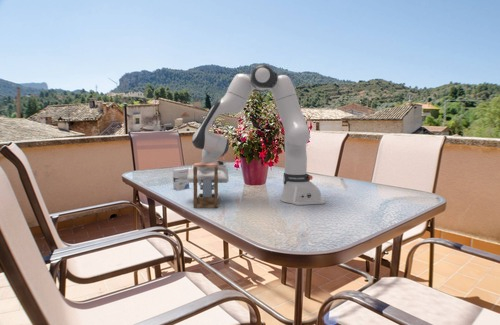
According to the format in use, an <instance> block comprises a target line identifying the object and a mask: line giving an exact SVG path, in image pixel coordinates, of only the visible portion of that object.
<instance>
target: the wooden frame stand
mask: <svg viewBox="0 0 500 325" xmlns="http://www.w3.org/2000/svg"><path fill="white" fill-rule="evenodd" d="M192 166H193V186H192V187H193V208H194V209H218V208H219V204H220V200H221V198H219V183H218V166H219V162H201V161H197V162H195V163H193V165H192ZM197 167H214V183H213V184H214V190H213V191H214V193H212V197H203V193H199V194H198V183H197Z"/></svg>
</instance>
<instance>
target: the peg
mask: <svg viewBox="0 0 500 325" xmlns="http://www.w3.org/2000/svg"><path fill="white" fill-rule="evenodd" d="M202 185H203V190H202V194H203V197H212V194H213V190H211V185H213V183H212V179H203V183H202Z"/></svg>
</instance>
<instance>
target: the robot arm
mask: <svg viewBox="0 0 500 325" xmlns="http://www.w3.org/2000/svg"><path fill="white" fill-rule="evenodd" d="M268 90H269V91H270V92H271V94H272V95H273V99H274V103H275V107H276V110H277V112H278V116H279V119H280V121H281V124H282V126H283V130H284V172H283V175H282V176H283V178H282V179H283V180H282V182H283V186H282V188H283V189H282V193H281V195H280V196H281V197H280V201H281V202H284V203H287V204H292V205H295V206H304V205H306V206H307V205H324V204H326V198H324V197H322V195H321V194H322V193H321V190H320V188H319V187H317V186H316V184H314V183H313V182H312V180H313V178H314V177H313V175H311V174H308V173H307V170H308V166H307V165H308V156H307V144H308V143H309V140H310V139H311V133H310V130H309V127H308V124H307V121H306V119H305V117H304V114H303V111H302V109H301V106H300V102H299V98H298V95H297V92H296V89H295V86H294V84H293V82H292V80H291V78H290V76H288V75H285V74H280V75H278V74H277V73H276V72H275V71H274V69H272V68H271V67H270V66H269V65H267V64H258V65H257V66H255V67H254V68H253V69H252V71H251V74H246V73H237V74H236V75H234V77H233V79H232V81H231V82H230V84H229V86H228V88H227V90H226V93H225V94H224V95H223V97H222V98H220V99H217V100H215V102H214V103H213V104H212V105H211V107H210V109H209V110H208V111H207V113H206V115H205V116H204V118H203V120H202V122H200V125H199V126H198V127H197V129H196V130H195V132H194V133H193V135H192V138H191V142H192V144H193V146H194V148H196V149H199V150H201V159H200V162H219V166H218V184H221V183H222V184H227V183H228V182H229V180H230V178H229V169H228V168H227V163H226V161H222V160H218V159H219V158H222V157H223V156H225V155H226V154H227V152H228V150H229V148H230V142H229V139H228V138H227V137H225V136H223V135H220V134H218V133H214V132H212V131H210V130H209V129H210V128H211V127H212V125H213V123H214V121H215V119H216V118H217V117H218V116H219V115H222V114H223V115H224V114H238V113H240V112H241V111H243V110H244V108H245V107H246V104H247V103H248V101H249V100H248V99H249V97H250V95H251V93H252V92H254V91H256V92H266V91H268ZM187 169H188V176H187V180H188V182H189V184H191V183H193V165H191V166H189V167H188V168H187ZM203 179H212V185H211V190H212V191H214V167H197V184H198V185H199V190H202V191H203Z"/></svg>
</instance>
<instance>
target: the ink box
mask: <svg viewBox="0 0 500 325" xmlns="http://www.w3.org/2000/svg"><path fill="white" fill-rule="evenodd" d="M187 176H188V168H184V167H183V168H177V169H176V168H175V169H173V170H172V179H173V180H172V182H173V183H172V184H173V188H172V189H173V190H175V191H181V190H185V189H189V188H190V183H189V182H188V180H187Z"/></svg>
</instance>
